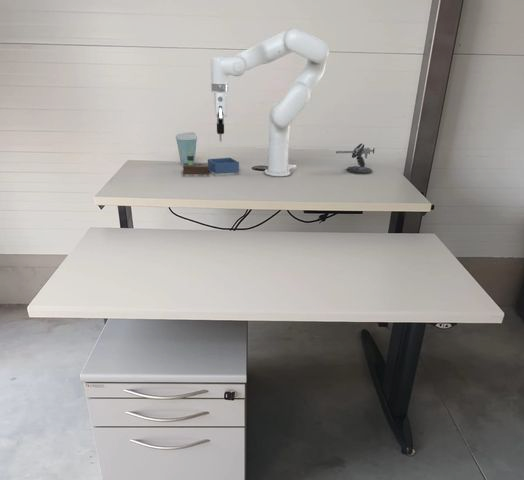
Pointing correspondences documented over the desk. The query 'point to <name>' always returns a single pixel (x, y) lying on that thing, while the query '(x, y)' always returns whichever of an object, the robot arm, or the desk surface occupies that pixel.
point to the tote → (223, 165)
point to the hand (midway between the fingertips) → (220, 132)
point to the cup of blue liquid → (186, 145)
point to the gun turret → (359, 159)
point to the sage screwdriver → (190, 158)
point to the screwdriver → (220, 134)
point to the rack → (195, 168)
